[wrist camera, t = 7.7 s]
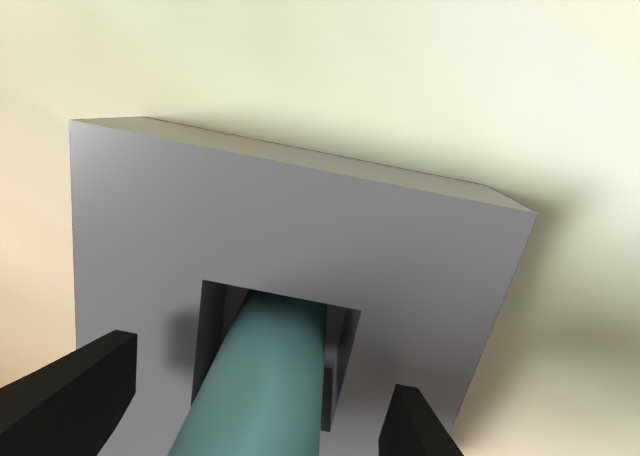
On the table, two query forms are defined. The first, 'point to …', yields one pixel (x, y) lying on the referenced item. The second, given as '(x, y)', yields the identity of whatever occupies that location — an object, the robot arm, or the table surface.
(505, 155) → the table surface
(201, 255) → the socket block
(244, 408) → the pin
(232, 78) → the table surface
